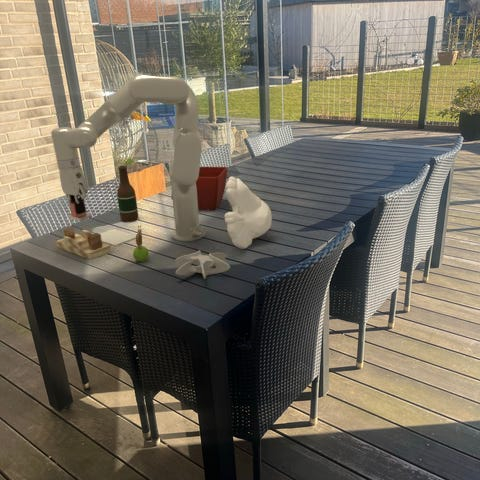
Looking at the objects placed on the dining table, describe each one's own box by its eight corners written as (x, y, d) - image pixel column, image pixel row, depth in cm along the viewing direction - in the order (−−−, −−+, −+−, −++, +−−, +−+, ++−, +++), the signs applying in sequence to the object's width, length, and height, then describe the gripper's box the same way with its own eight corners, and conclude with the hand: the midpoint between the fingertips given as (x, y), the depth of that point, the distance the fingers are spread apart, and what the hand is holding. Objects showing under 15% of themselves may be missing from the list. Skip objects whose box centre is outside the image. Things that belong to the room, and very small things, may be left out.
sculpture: (219, 288, 147) (218, 269, 144) (162, 280, 154) (160, 262, 152) (240, 265, 162) (239, 248, 159) (188, 258, 169) (186, 242, 167)
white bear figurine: (248, 209, 196) (216, 170, 179) (281, 207, 186) (250, 166, 170) (228, 262, 185) (192, 226, 168) (262, 263, 175) (227, 224, 159)
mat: (137, 237, 191) (137, 236, 190) (115, 246, 183) (115, 245, 183) (113, 230, 200) (113, 228, 200) (91, 238, 192) (90, 237, 192)
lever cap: (91, 217, 176) (88, 201, 174) (80, 221, 173) (76, 205, 171) (79, 214, 181) (76, 198, 179) (67, 217, 178) (64, 202, 175)
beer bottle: (121, 223, 208) (113, 169, 199) (120, 218, 215) (112, 165, 206) (139, 221, 209) (132, 167, 201) (138, 215, 216) (131, 163, 208)
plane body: (111, 251, 178) (108, 232, 175) (90, 259, 172) (87, 240, 169) (78, 239, 191) (74, 222, 189) (57, 246, 185) (54, 228, 182)
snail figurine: (151, 256, 173) (147, 224, 168) (148, 263, 167) (144, 231, 162) (135, 256, 172) (131, 225, 168) (132, 264, 166) (128, 232, 162)
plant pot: (220, 213, 214) (218, 176, 208) (179, 212, 218) (176, 176, 212) (229, 200, 232) (227, 166, 225) (192, 200, 236) (189, 166, 229)
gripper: (91, 163, 167) (100, 212, 174) (65, 159, 177) (75, 206, 184) (72, 167, 162) (82, 219, 169) (47, 163, 172) (57, 211, 179)
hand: (78, 211), depth 176 cm, fingers closed on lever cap, 3 cm apart
